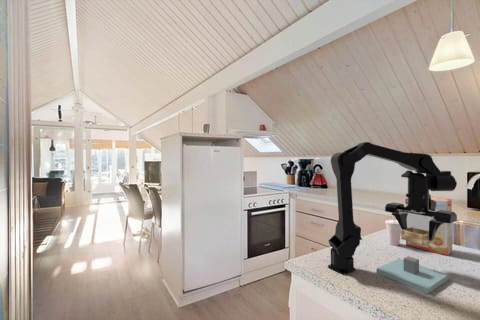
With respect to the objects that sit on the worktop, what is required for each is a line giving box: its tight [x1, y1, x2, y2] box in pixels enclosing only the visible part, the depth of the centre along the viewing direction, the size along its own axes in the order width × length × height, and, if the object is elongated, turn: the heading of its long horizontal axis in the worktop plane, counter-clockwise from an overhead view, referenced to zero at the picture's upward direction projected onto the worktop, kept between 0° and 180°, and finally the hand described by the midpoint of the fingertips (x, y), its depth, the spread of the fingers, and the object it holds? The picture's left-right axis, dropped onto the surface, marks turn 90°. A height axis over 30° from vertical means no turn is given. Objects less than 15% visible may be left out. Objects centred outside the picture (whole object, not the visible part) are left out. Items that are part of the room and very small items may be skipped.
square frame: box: [400, 227, 435, 246], centre depth 80 cm, size 7×7×3 cm
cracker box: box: [404, 196, 453, 256], centre depth 96 cm, size 14×6×21 cm, turn 34°
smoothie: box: [384, 215, 402, 247], centre depth 102 cm, size 6×6×14 cm
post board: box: [376, 255, 449, 295], centre depth 75 cm, size 14×14×6 cm
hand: (417, 237), depth 80 cm, fingers closed on square frame, 7 cm apart
